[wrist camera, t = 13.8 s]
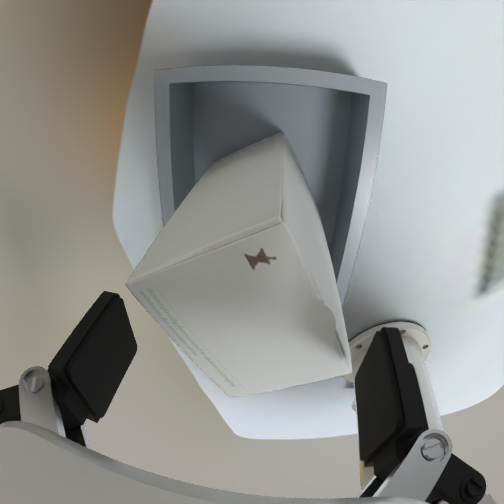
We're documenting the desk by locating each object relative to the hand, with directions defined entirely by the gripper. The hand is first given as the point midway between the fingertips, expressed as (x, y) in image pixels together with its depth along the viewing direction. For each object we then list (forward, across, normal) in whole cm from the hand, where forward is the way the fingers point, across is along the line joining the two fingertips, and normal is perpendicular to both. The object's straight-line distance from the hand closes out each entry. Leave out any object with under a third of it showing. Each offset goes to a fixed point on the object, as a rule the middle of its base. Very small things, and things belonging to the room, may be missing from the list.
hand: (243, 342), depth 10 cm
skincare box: (+16, 0, 0) cm, 16 cm away
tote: (+17, +1, -1) cm, 17 cm away
